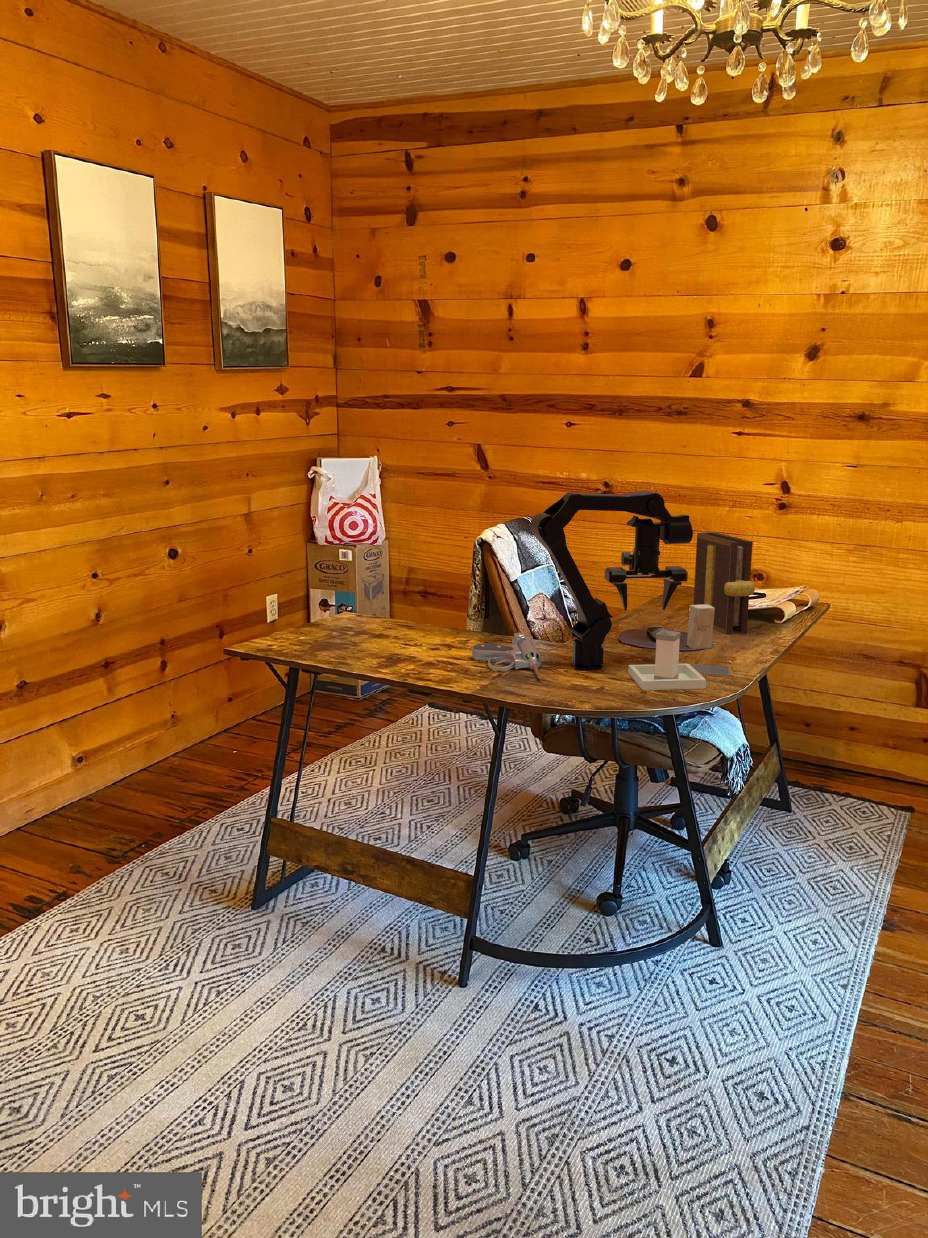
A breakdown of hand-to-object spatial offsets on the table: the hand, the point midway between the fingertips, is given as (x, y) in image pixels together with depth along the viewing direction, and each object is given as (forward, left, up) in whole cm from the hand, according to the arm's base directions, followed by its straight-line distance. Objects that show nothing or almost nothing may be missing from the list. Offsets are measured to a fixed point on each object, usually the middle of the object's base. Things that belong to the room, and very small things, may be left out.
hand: (644, 609), depth 229 cm
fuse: (+1, -17, -12) cm, 21 cm away
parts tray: (+1, -17, -13) cm, 21 cm away
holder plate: (+13, -9, -13) cm, 20 cm away
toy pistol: (-33, 0, -14) cm, 35 cm away
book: (+31, +34, -13) cm, 48 cm away
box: (+18, +12, -13) cm, 25 cm away
